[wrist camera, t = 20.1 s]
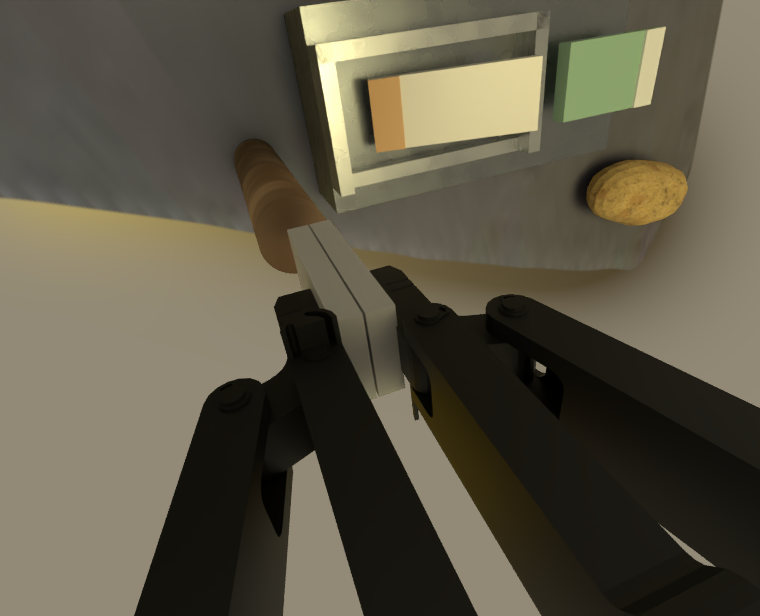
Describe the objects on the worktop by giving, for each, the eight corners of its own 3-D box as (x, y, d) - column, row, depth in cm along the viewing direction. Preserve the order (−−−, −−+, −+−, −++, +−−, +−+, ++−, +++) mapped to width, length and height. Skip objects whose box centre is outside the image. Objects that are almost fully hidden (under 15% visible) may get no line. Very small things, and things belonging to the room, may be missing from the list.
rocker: (375, 147, 31) (376, 152, 29) (367, 78, 28) (367, 80, 27) (531, 127, 30) (538, 130, 29) (536, 54, 28) (544, 55, 27)
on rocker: (552, 120, 32) (564, 122, 31) (559, 43, 30) (573, 42, 29) (637, 101, 34) (652, 103, 33) (651, 27, 31) (668, 26, 30)
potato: (635, 215, 52) (682, 232, 47) (562, 214, 48) (604, 233, 43) (657, 157, 49) (711, 169, 44) (582, 151, 45) (630, 164, 40)
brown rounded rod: (241, 186, 35) (269, 281, 21) (228, 143, 33) (249, 213, 19) (281, 177, 36) (337, 263, 21) (271, 135, 34) (324, 196, 20)
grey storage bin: (319, 193, 38) (346, 224, 31) (284, 14, 31) (307, 2, 24) (560, 138, 43) (628, 153, 36) (577, -24, 36) (665, -43, 29)
